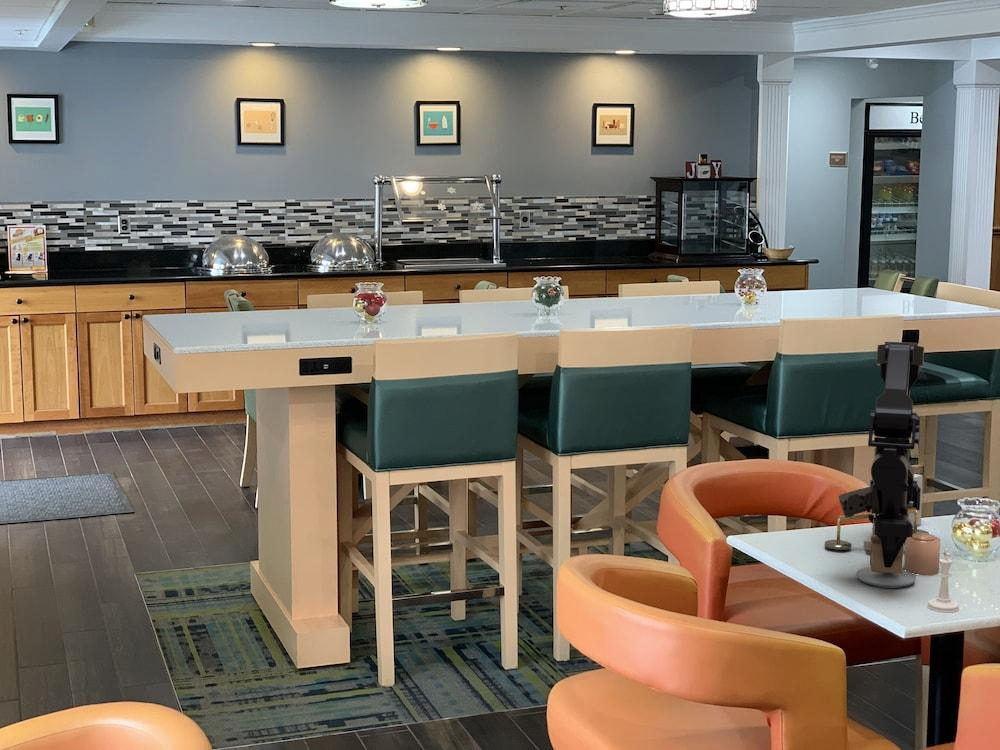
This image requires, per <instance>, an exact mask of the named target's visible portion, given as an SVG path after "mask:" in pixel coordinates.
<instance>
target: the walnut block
mask: <svg viewBox="0 0 1000 750" xmlns="http://www.w3.org/2000/svg"><path fill="white" fill-rule="evenodd" d="M870 542H871V547H870V555H869V567H871V570H872V572H882V573H899V574H902V570H903V563H904V545H903V546H902V548H901V550H900V551H899V553H898V555H897V557H896V559H895V561H894V563H893V565H892V566H891V567H890V568H888V567H885V566H884V560H883V553H882V546H881V540H880V539H879V538H878V537H872V535H871V536H870Z"/></svg>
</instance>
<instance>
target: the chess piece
mask: <svg viewBox="0 0 1000 750" xmlns="http://www.w3.org/2000/svg"><path fill="white" fill-rule="evenodd" d="M941 555H943V558H939V567H940V570H941V572H939V573H938V574H937V575H938V576H939V577H941V580H940V587H939V590H938V595H937V596H936V598H931V599H930V600H928V601H927V603H928V604H927V607H928V608H929V610H932V611H934V612H939V613H955V612H958V611H959V610H960V608H959V603H957V602H956V601H955V600H952V598H951V597H950V593H949V578H951V577H952V576H953V575H952V573H951V572H949V571H950V568H951V567H952V564H953V561H952V559H950V557H951V553H949V548H944V550H942V551H941ZM928 608H927V609H928Z"/></svg>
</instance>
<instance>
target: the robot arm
mask: <svg viewBox="0 0 1000 750" xmlns="http://www.w3.org/2000/svg"><path fill="white" fill-rule="evenodd" d="M918 344H919V343H918V342H903V341H901V342H900V341H884V344H878V345H877V349H876V350H877V352H876V365H877V366H878V367H880V374H879V375H880V378H881V380H882V381H883V383H884V386H883V387H884V388H883V389H884V390H883V392H882V394H880V395H879V396H878V397H877V398H876V399H875V407H874V409H873V410H872V409H871V410H870V418H869V431H868V439H867V440H868V441H867V442H868V443H867V446H868V447H873V448H874V457H873V461H872V464H871V467H870V475H871V479H870V480H869V486H867V487H862V488H859V489H854V490H851V491H848V492H846V493H844V492H843V493H841V494H840V495H838V500H839V502H840V505H841V510H842V513H843V515H844V516H845V517H851V516H853V515H854V514H861V513H870V512H871V513H873V515H868V518H867V519H868V520H869V522H870V523H871V524H872V527H871V530H873V533H874V535H876V536H877V537H878V538H879V539H880V540H881V546H882V553H883V560H884V566H885V567H888V568H890V567H891V566H892V565H893V563H894V561H895V559H896V557H897V555H898V553H899V551H900V550H901V548H902V546H903V547H904V545H905V541H906V539H907V537H912V535H913V529H914V527H913V525H912V523H911V521H910V520H909V519H908V518H909V514H907V511H908V509H907V508H914V507H915V508H916V510H920V493H921V489H920V488H919V486H918V484H917V481H914V474H915V469H914V467H913V466H912V465H911V464H912V463H911V462H910V461H909V459H910V458H909V457H910V450H915V448H916V446H915V445H916V444H917V445H919V441H920V440H919V439H920V424H921V420H920V418H919V417H918V414H919V413H918V414H917V412H913V409H914V400H913V399H912V398H911V397H910V395H911V389H912V387H913V386H914V385H915V383H916V382H917V381H918V379H919V375H920V369H921V368H922V369H923V368H924V360H925V359H924V358H925V357H924V355H925V347H924V346H921V345H920V346H919V345H918ZM873 437H874V439H873ZM910 439H911V442H910ZM910 501H912V502H913V503H910ZM900 514H901V515H900Z"/></svg>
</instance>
